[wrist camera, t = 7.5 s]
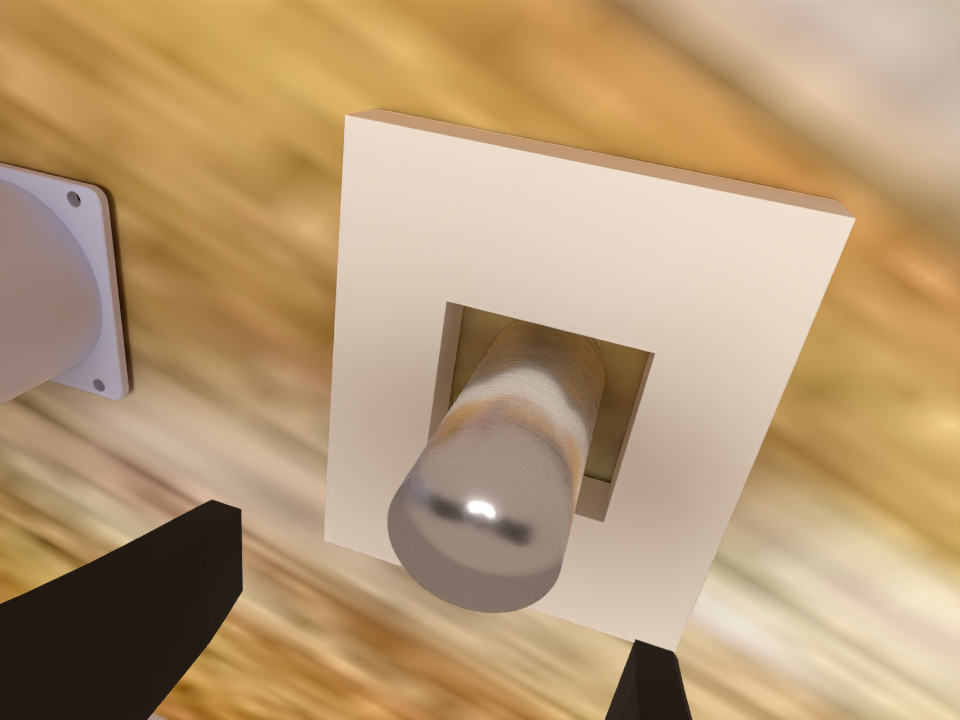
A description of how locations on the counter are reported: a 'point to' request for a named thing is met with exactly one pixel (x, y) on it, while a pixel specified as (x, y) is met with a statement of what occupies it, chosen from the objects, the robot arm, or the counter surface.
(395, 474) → the hole board
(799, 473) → the counter surface
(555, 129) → the counter surface
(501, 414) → the long steel pin
